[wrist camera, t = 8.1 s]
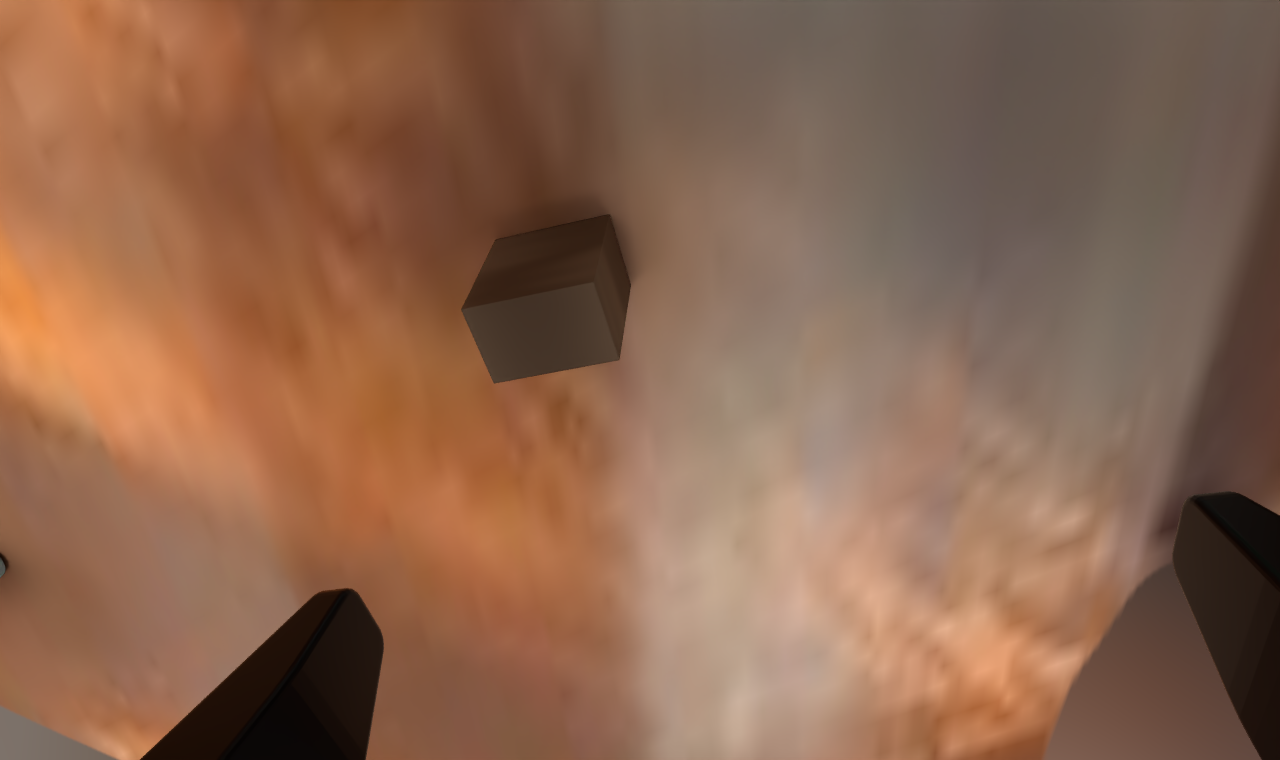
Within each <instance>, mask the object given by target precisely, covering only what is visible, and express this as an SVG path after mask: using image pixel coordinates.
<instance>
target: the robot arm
mask: <svg viewBox="0 0 1280 760" xmlns="http://www.w3.org/2000/svg"><path fill="white" fill-rule="evenodd" d="M1172 560H1173V566H1174V570H1175V573H1176V576H1177V578H1178V581H1179V583H1180V585H1181V588H1182V590H1183V592H1184V595H1185V597H1186V599H1187V602H1188V604H1189V606H1190V609H1191V611H1192V613H1193V615H1194V618H1195V620H1196V622H1197V625H1198V627H1199V629H1200V631H1201V634H1202V636H1203V639H1204V641H1205V643H1206V645H1207V648H1208V650H1209V652H1210V654H1211V657H1212V659H1213V662H1214V664H1215V666H1216V668H1217V671H1218V673H1219V675H1220V677H1221V680H1222V682H1223V684H1224V687H1225V689H1226V691H1227V694H1228V696H1229V698H1230V700H1231V702H1232V704H1233V707H1234V709H1235V711H1236V713H1237V715H1238V717H1239V719H1240V721H1241V723H1242V725H1243V727H1244V729H1245V730H1246V732H1247V734H1248V736H1249V738H1250V740H1251V741H1252V743H1253V745H1254V747H1255V749H1256V750H1257V752H1258V754H1259V756H1260V757H1261V759H1262V760H1280V515H1278V514H1276V513H1274V512H1272V511H1271V510H1269V509H1267V508H1265V507H1263V506H1262V505H1260V504H1258V503H1256V502H1254V501H1253V500H1251V499H1249V498H1247V497H1245V496H1243V495H1241V494H1239V493H1236V492H1230V491H1226V492H1216V493H1207V494H1198V495H1193V496H1190V497H1188V498H1187V499H1186V501H1185V502H1184V504H1183V507H1182V511H1181V515H1180V519H1179V524H1178V528H1177V533H1176V537H1175V542H1174V546H1173V552H1172ZM383 650H384V642H383V636H382V633H381V630H380V628H379V626H378V625H377V623H376V621H375V620H374V618H373V617H372V615H371V613H370V612H369V610H368V608H367V607H366V605H365V603H364V602H363V600H362V598H361V597H360V595H359V594H358V593H357V592H356V591H354V590H353V589H349V588H344V589H335V590H326V591H321V592H319V593H317V594H315V595H314V596H313V597H312V598H311V599H310V600H308V601H307V602H306V603H305V604H304V605H303V606H302V607H301V608H300V609H299V610H298V611H297V612H296V613H295V614H294V615H293V616H292V617H290V618H289V619H288V620H287V621H286V622H285V623H284V624H283V625H282V626H281V627H280V628H279V629H278V630H277V631H276V632H275V633H274V634H272V635H271V636H270V637H269V638H268V639H267V640H266V641H265V642H264V643H263V644H262V645H261V646H260V647H259V648H258V649H257V650H256V651H254V652H253V653H252V654H251V655H250V656H249V657H248V658H247V659H246V660H245V661H244V662H243V663H242V664H241V665H240V666H239V667H238V668H236V669H235V670H234V671H233V672H232V673H231V674H230V675H229V676H228V677H227V678H226V679H225V680H224V681H223V682H222V683H221V684H219V685H218V686H217V687H216V688H215V689H214V690H213V691H212V692H211V693H210V694H209V695H208V696H207V697H206V698H205V699H204V700H203V701H201V702H200V703H199V704H198V705H197V706H196V707H195V708H194V709H193V710H192V711H191V712H190V713H189V714H188V715H187V716H186V717H185V718H183V719H182V720H181V721H180V722H179V723H178V724H177V725H176V726H175V727H174V728H173V729H172V730H171V731H170V732H169V733H168V734H167V735H165V736H164V737H163V738H162V739H161V740H160V741H159V742H158V743H157V744H156V745H155V746H154V747H153V748H152V749H151V750H150V751H149V752H147V753H146V754H145V755H144V756H143V757H142V758H141V759H140V760H366V755H367V749H368V743H369V737H370V731H371V725H372V718H373V712H374V706H375V700H376V694H377V688H378V682H379V676H380V670H381V664H382V658H383Z"/></svg>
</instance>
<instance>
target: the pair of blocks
mask: <svg viewBox="0 0 1280 760" xmlns="http://www.w3.org/2000/svg"><path fill="white" fill-rule="evenodd" d="M630 287H631V284H630V281H629V278H628V274H627V271H626V268H625V264H624V261H623V258H622V254H621V251H620V248H619V244H618V241H617V238H616V234H615V231H614V228H613V225H612V221H611V218H610V215H605V216H600V217H596V218H591V219H587V220H582V221H578V222H573V223H569V224H565V225H560V226H556V227H551V228H547V229H542V230H538V231H533V232H529V233H525V234H520V235H516V236H511V237H507V238H502V239H498V240H495V242H494V244H493V246H492V248H491V250H490V252H489V254H488V256H487V258H486V260H485V262H484V264H483V266H482V268H481V270H480V272H479V274H478V276H477V278H476V280H475V283H474V285H473V287H472V289H471V291H470V293H469V295H468V297H467V299H466V301H465V303H464V305H463V307H462V309H461V310H462V312H463V315H464V317H465V319H466V321H467V324H468V326H469V328H470V330H471V333H472V335H473V337H474V340H475V342H476V344H477V346H478V349H479V351H480V353H481V355H482V358H483V360H484V362H485V364H486V367H487V369H488V371H489V373H490V376H491V378H492V380H493V382H494V383H499V382H505V381H510V380H515V379H521V378H526V377H531V376H537V375H542V374H547V373H553V372H558V371H563V370H569V369H574V368H579V367H585V366H590V365H595V364H601V363H606V362H611V361H617V360H619V359H620V353H621V346H622V340H623V333H624V327H625V320H626V313H627V307H628V300H629V294H630Z"/></svg>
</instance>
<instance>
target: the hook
mask: <svg viewBox="0 0 1280 760" xmlns="http://www.w3.org/2000/svg"><path fill="white" fill-rule="evenodd" d="M4 573H5V565H4V562H3V561H2V559H1V557H0V577H1V576H2V575H3V574H4Z"/></svg>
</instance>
